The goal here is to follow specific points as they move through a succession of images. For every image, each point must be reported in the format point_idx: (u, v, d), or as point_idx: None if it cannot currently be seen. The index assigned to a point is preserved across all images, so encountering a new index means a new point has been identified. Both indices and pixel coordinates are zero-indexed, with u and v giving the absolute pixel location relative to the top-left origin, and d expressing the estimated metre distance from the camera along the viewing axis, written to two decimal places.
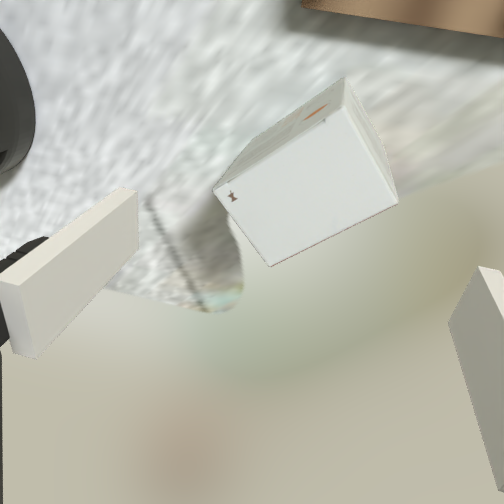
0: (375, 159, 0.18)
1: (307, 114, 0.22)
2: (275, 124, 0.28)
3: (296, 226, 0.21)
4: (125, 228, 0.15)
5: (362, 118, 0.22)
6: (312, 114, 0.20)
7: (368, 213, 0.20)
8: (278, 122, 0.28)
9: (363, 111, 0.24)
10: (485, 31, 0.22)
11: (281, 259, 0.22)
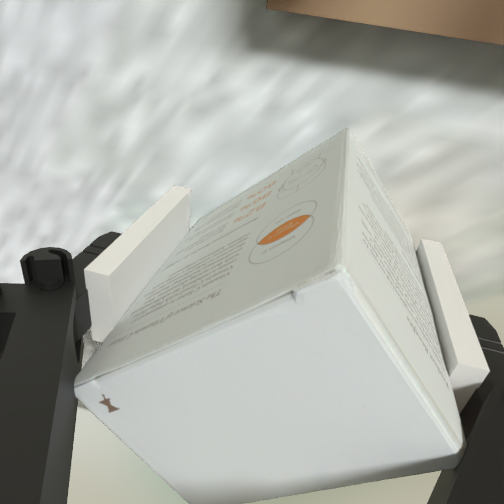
0: (419, 378, 0.08)
1: (272, 220, 0.11)
2: (233, 200, 0.17)
3: (242, 468, 0.10)
4: (181, 224, 0.16)
5: (381, 231, 0.11)
6: (277, 235, 0.10)
7: (397, 472, 0.09)
8: (238, 197, 0.17)
9: (380, 195, 0.14)
10: None
11: None
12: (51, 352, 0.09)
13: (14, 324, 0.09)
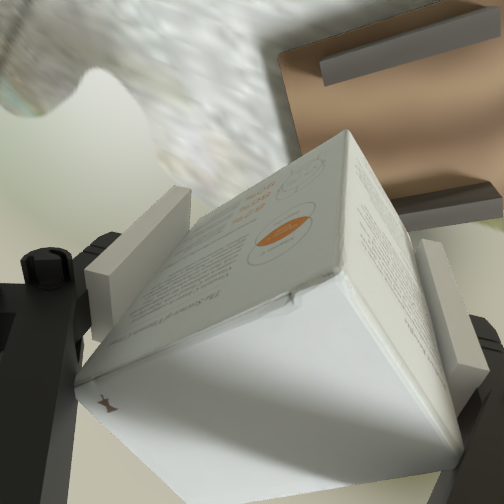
0: (416, 380, 0.08)
1: (270, 222, 0.11)
2: (232, 201, 0.17)
3: (240, 469, 0.10)
4: (181, 224, 0.16)
5: (380, 233, 0.11)
6: (275, 236, 0.10)
7: (394, 472, 0.09)
8: (237, 198, 0.17)
9: (379, 197, 0.14)
10: None
11: None
12: (51, 352, 0.09)
13: (14, 324, 0.09)
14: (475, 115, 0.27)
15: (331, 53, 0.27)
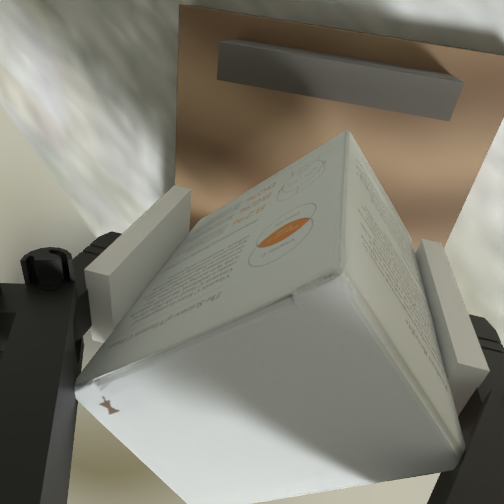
0: (418, 381, 0.08)
1: (271, 223, 0.11)
2: (233, 202, 0.17)
3: (241, 470, 0.10)
4: (181, 224, 0.16)
5: (381, 234, 0.11)
6: (276, 237, 0.10)
7: (396, 473, 0.09)
8: (238, 199, 0.17)
9: (380, 197, 0.14)
10: None
11: None
12: (51, 352, 0.09)
13: (14, 324, 0.09)
14: None
15: (250, 38, 0.19)
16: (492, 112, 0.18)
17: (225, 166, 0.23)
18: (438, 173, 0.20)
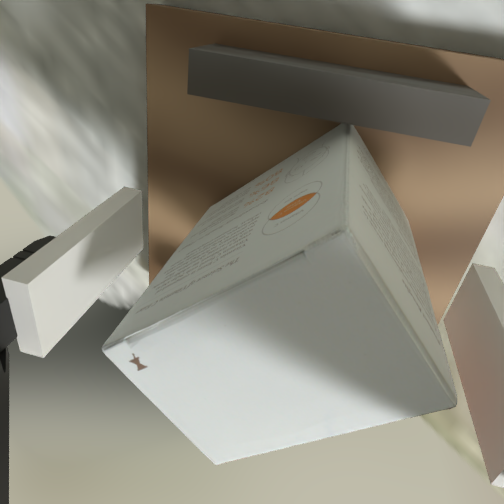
0: (412, 328, 0.09)
1: (281, 200, 0.12)
2: (242, 189, 0.18)
3: (257, 419, 0.11)
4: (130, 228, 0.15)
5: (380, 209, 0.12)
6: (287, 210, 0.11)
7: (395, 415, 0.10)
8: (246, 186, 0.18)
9: (379, 180, 0.15)
10: (151, 229, 0.22)
11: (234, 458, 0.12)
12: None
13: None
14: None
15: (229, 44, 0.16)
16: None
17: (205, 190, 0.20)
18: (452, 202, 0.17)
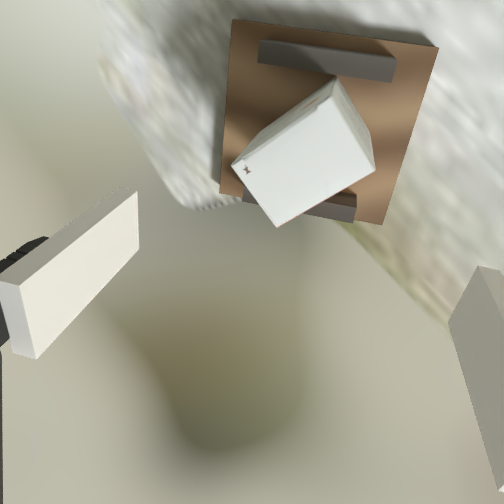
0: (356, 136, 0.24)
1: (304, 105, 0.28)
2: (280, 117, 0.34)
3: (297, 192, 0.26)
4: (125, 228, 0.15)
5: (348, 108, 0.27)
6: (308, 105, 0.26)
7: (352, 179, 0.25)
8: (282, 115, 0.34)
9: (351, 103, 0.30)
10: (224, 148, 0.37)
11: (285, 220, 0.28)
12: None
13: None
14: None
15: (275, 39, 0.32)
16: (421, 80, 0.31)
17: (257, 121, 0.35)
18: (392, 120, 0.33)
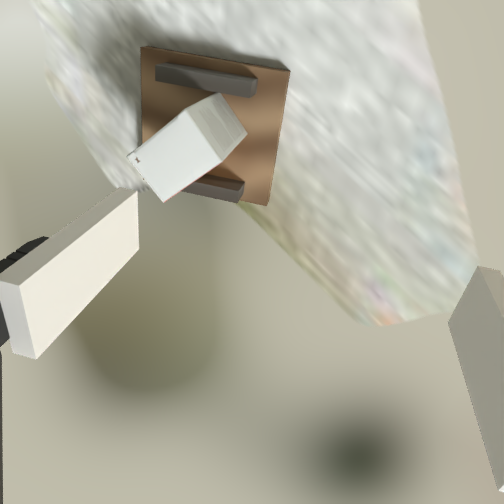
0: (206, 137, 0.35)
1: None
2: None
3: (172, 176, 0.37)
4: (125, 228, 0.15)
5: (213, 116, 0.38)
6: None
7: (208, 167, 0.36)
8: None
9: (225, 112, 0.41)
10: None
11: (168, 197, 0.38)
12: None
13: None
14: (243, 138, 0.44)
15: (172, 62, 0.42)
16: (279, 95, 0.41)
17: (166, 124, 0.46)
18: (263, 124, 0.43)
